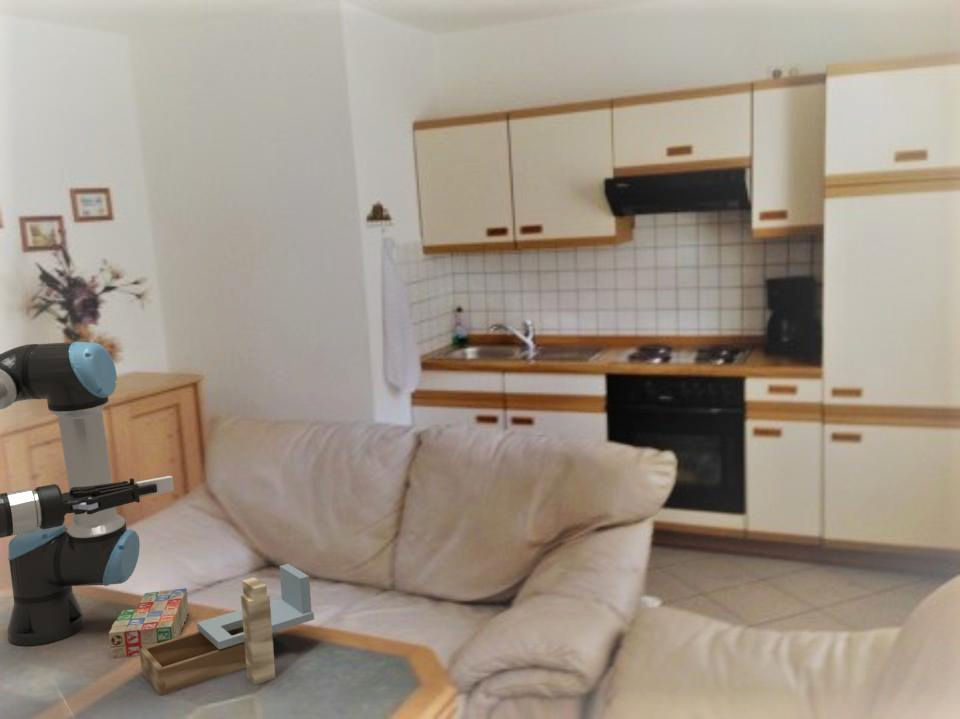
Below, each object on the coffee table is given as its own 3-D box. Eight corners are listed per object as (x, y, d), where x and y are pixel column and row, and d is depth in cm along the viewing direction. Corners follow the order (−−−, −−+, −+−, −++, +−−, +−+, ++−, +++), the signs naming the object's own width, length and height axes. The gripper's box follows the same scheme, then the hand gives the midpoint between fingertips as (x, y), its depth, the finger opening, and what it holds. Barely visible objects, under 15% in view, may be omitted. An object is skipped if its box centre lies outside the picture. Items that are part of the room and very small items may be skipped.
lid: (197, 629, 171) (194, 587, 170) (289, 602, 183) (286, 562, 182) (219, 649, 162) (215, 604, 161) (314, 619, 174) (311, 577, 173)
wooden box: (142, 676, 165) (139, 648, 165) (240, 644, 177) (238, 619, 177) (161, 699, 156) (158, 670, 155) (263, 664, 168) (261, 638, 167)
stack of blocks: (189, 613, 195) (133, 619, 193) (187, 587, 194) (131, 593, 192) (173, 655, 174) (110, 662, 172) (170, 626, 173) (107, 633, 171)
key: (245, 679, 162) (238, 581, 160) (265, 672, 165) (258, 576, 162) (257, 690, 158) (249, 589, 156) (277, 683, 160) (270, 584, 158)
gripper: (31, 521, 154) (163, 495, 168) (46, 538, 143) (185, 509, 158) (27, 481, 153) (159, 458, 167) (41, 495, 143) (181, 469, 157)
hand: (172, 483), depth 162 cm, fingers closed
